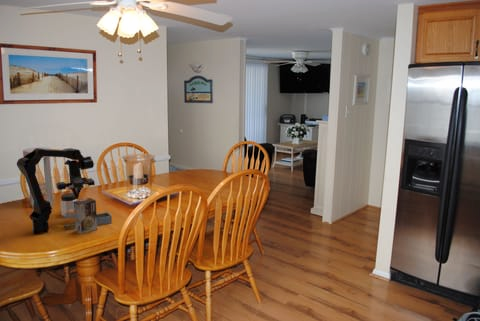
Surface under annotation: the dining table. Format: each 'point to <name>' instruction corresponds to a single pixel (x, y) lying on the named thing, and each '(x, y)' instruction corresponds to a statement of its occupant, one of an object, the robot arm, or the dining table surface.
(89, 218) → the coffee box
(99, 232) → the dining table surface
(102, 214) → the grey open box
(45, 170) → the stool
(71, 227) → the catapult base
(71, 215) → the lever
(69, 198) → the jar
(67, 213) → the ball
